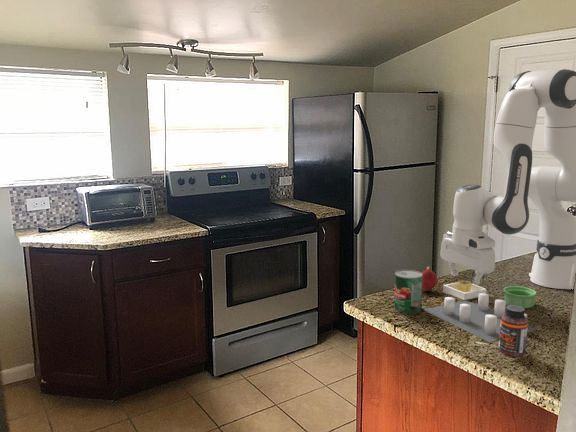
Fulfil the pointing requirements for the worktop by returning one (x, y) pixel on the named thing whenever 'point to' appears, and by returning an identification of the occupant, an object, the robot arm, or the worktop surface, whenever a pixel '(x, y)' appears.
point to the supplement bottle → (513, 331)
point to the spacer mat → (474, 316)
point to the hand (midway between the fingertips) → (465, 279)
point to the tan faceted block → (464, 286)
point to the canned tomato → (408, 291)
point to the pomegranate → (428, 279)
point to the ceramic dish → (472, 294)
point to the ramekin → (519, 296)
